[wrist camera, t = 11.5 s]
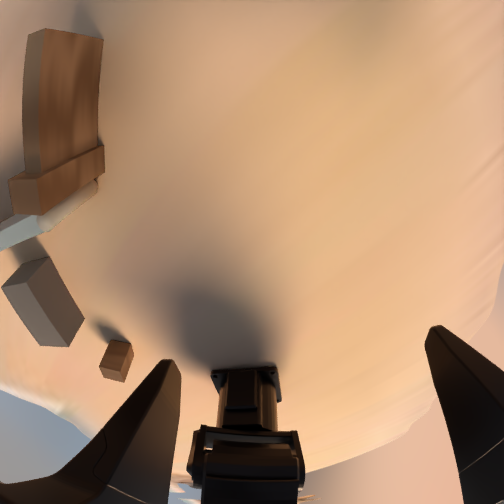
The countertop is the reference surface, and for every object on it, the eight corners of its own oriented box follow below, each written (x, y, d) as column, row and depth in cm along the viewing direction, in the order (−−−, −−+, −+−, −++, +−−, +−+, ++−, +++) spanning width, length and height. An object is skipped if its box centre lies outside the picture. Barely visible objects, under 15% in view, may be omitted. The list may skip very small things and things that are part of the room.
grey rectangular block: (85, 317, 24) (68, 347, 20) (57, 318, 24) (40, 345, 21) (51, 255, 20) (26, 282, 17) (23, 262, 21) (0, 287, 17)
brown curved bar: (81, 44, 12) (8, 37, 6) (110, 38, 12) (39, 23, 6) (114, 351, 26) (92, 406, 20) (134, 355, 26) (114, 413, 20)
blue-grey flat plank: (94, 176, 17) (46, 208, 12) (100, 192, 17) (55, 229, 12) (-14, 231, 19) (-49, 261, 14) (-9, 242, 19) (-43, 273, 14)
